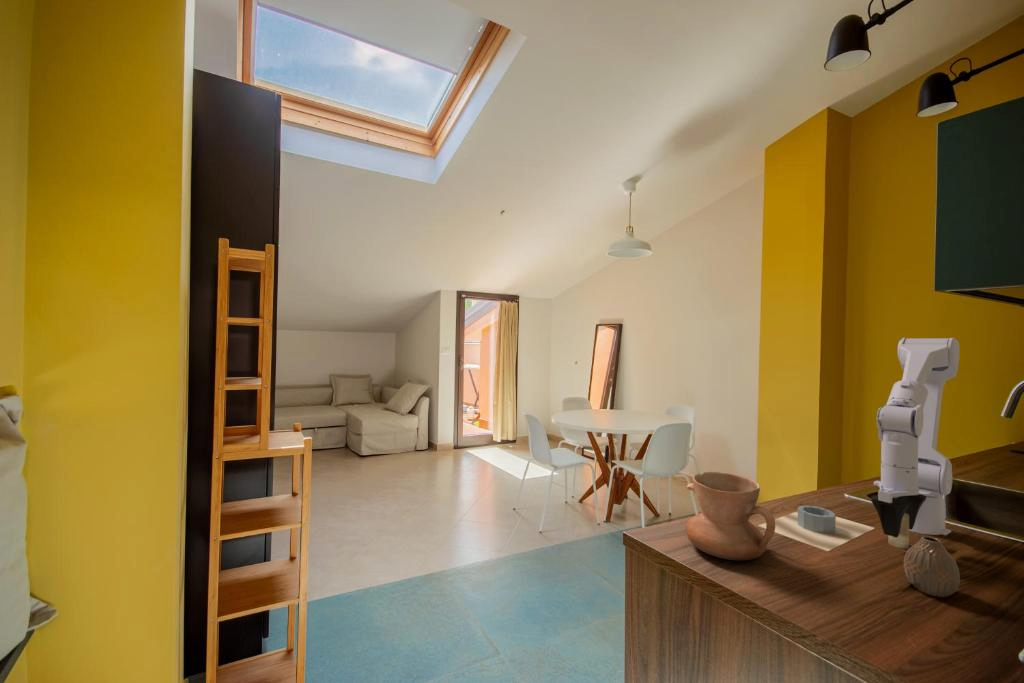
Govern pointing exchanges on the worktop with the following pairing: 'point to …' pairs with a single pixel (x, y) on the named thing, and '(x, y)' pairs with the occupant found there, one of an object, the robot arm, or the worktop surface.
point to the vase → (931, 568)
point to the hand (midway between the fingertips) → (898, 531)
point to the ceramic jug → (728, 517)
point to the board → (825, 541)
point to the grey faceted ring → (816, 519)
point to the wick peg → (901, 535)
